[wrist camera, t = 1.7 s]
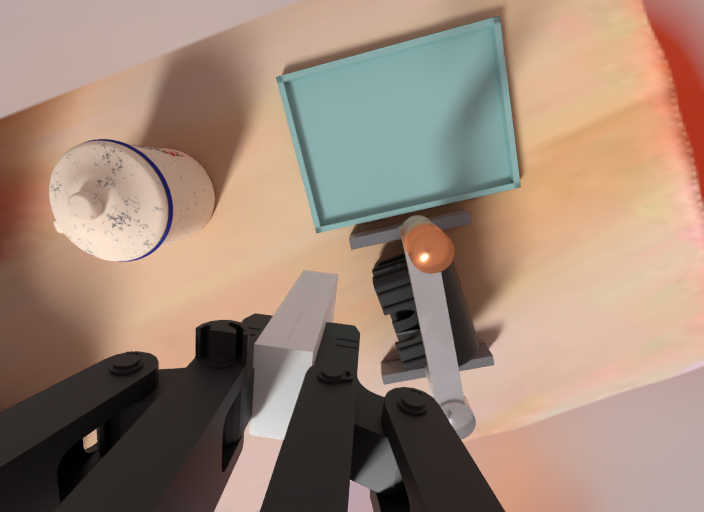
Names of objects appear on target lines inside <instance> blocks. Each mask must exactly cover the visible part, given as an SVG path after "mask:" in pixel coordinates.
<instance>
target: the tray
mask: <svg viewBox="0 0 704 512" xmlns="http://www.w3.org/2000/svg"><path fill="white" fill-rule="evenodd" d="M276 79H277V83H278V87H279V90H280V94H281V98H282V102H283V106H284V110H285V113H286V117H287V121H288V125H289V129H290V133H291V137H292V140H293V144H294V148H295V152H296V156H297V160H298V163H299V167H300V171H301V175H302V179H303V183H304V187H305V190H306V194H307V198H308V202H309V206H310V210H311V213H312V217H313V221H314V225H315V229H316V233H320V232H324V231H329V230H333V229H338V228H342V227H347V226H351V225H355V224H360V223H364V222H369V221H373V220H378V219H382V218H387V217H391V216H395V215H400V214H404V213H409V212H413V211H418V210H422V209H427V208H431V207H435V206H440V205H444V204H449V203H453V202H458V201H462V200H467V199H471V198H475V197H480V196H484V195H489V194H493V193H498V192H502V191H507V190H511V189H515V188H520V187H521V186H520V178H519V170H518V162H517V153H516V145H515V137H514V129H513V121H512V113H511V105H510V96H509V88H508V80H507V72H506V64H505V56H504V48H503V40H502V31H501V23H500V16H497V17H493V18H489V19H486V20H482V21H479V22H475V23H471V24H468V25H464V26H460V27H457V28H453V29H449V30H446V31H442V32H438V33H435V34H431V35H427V36H424V37H420V38H417V39H413V40H409V41H406V42H402V43H398V44H395V45H391V46H387V47H384V48H380V49H376V50H373V51H369V52H365V53H362V54H358V55H354V56H351V57H347V58H344V59H340V60H336V61H333V62H329V63H325V64H322V65H318V66H314V67H311V68H307V69H303V70H300V71H296V72H292V73H289V74H285V75H281V76H278V77H276Z"/></svg>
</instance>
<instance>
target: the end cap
mask: <svg viewBox="0 0 704 512" xmlns="http://www.w3.org/2000/svg"><path fill="white" fill-rule="evenodd" d="M372 273H373V276H374V277H373V285H374V288H375V291H376V293H377V296H378V299H379V302H380V304H381V307H382V310H383V312H384V315H388V314H390V315H391V318H392V321H393V322H392V324H393V326H394V329H395V332H396V334H397V337H398V340H399V341H398V342H395V344H396V347H397V350H398V353H399V355H400V358H401V361H402V363H403V366H404V369H405V371H406V372H407V371H410V370H414V369H417V368H420V367H424V366H427V360H426V355H425V350H424V345H423V340H422V335H421V331H420V326H419V321H418V316H417V311H416V306H415V301H414V296H413V292H412V287H411V282H410V277H409V272H408V267H407V262H406V257H405V253H404V254H401V255H398V256H395V257H392V258H389V259H387V260H384V261H381V262H378V263H376V264H375V266H374V269H372ZM441 275H442V280H443V286H444V291H445V297H446V302H447V308H448V313H449V319H450V324H451V330H452V335H453V340H454V346H455V351H456V357H457V362H458V367H460V366H462V365H464V364H466V363H467V362H469V361H470V360H471V359H472V358H474V357H475V355H476V354H477V352H478V349H479V342H478V339H477V336H476V332H475V329H474V326H473V323H472V320H471V316H470V313H469V310H468V307H467V304H466V301H465V297H464V294H463V291H462V288H461V285H460V281H459V278H458V275H457V272H456V269H455V266H454V262H453V260H452V262H451V264H450V265H449V266H448V267H447V268H446V269H445V270H443V271H441Z"/></svg>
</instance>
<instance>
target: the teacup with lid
mask: <svg viewBox="0 0 704 512" xmlns="http://www.w3.org/2000/svg"><path fill="white" fill-rule="evenodd" d="M49 199H50V205H51V208H52V212H53V214H54V217H55V220H54V222H53V224H54V227H55V229H56V230H57V231H58V232H59V233H64V234H65V235H66V236H67V237H68V238H69V239H70V240H71V241H72V242H73V243H74V244H75V245H76V246H78V247H79V248H80V249H82V250H83V251H85V252H87V253H89V254H91V255H93V256H95V257H98V258H101V259H104V260H109V261H118V262H127V261H134V260H138V259H141V258H144V257H146V256H148V255H150V254H151V253H152V252H154V251H155V250H156V249H158V248H161V247H163V246H166V245H169V244H171V243H174V242H177V241H179V240H182V239H184V238H187V237H190V236H192V235H194V234H196V233H197V232H199V231H200V230H201V229H203V228H204V226H205V225H206V224H207V223H208V221H209V220H210V218H211V215H212V213H213V209H214V203H215V196H214V189H213V185H212V182H211V180H210V178H209V176H208V174H207V172H206V171H205V169H204V168H203V167H202V166H201V165H200V164H199V163H198V162H197V161H196V160H195V159H194V158H192V157H191V156H189V155H187V154H186V153H183V152H181V151H178V150H174V149H167V148H156V147H146V146H135V145H128V144H126V143H123V142H119V141H115V140H108V139H98V140H91V141H87V142H84V143H82V144H79V145H77V146H75V147H73V148H72V149H70V150H69V151H68V152H66V153H65V154H64V155H63V156H62V157H61V158H60V160H59V161H58V162H57V164H56V166H55V168H54V170H53V172H52V175H51V179H50V184H49Z"/></svg>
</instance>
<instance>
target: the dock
mask: <svg viewBox="0 0 704 512" xmlns="http://www.w3.org/2000/svg"><path fill="white" fill-rule="evenodd" d="M426 218H428V219H429V220H430V221H432V222H433V223H434V224H435V225H436V226H437V227H438V228H440V229H441V230H444V229H448V228H453V227H458V226H462V225H467V224H471V223H472V220H471V214H470V212H468V211H466V210H464V209H462V210H457V211H453V212H448V213H444V214H439V215H435V216H430V217H426ZM403 223H404V222H403ZM403 223H399V224H394V225H390V226H385V227H381V228H376V229H372V230H367V231H363V232H358V233H354V234H350V237H349V241H350V246H351V250H352V249H357V248H361V247H366V246H370V245H375V244H380V243H384V242H389V241H393V240H398V239H401V236H400V228H399V226H402V224H403ZM491 365H494V360H493V355H492V354H491V352H490V351H489V349H488V348H487V346H486V345H485V344H480V345H479V349H478V352H477V354H476V355H475V357H474V358H472V359H471V360H470V361H469V362H467V363H466V364H464V365H462V366H460V367H458V368H459V371H463V370H469V369H474V368H480V367H486V366H491ZM381 371H382V379H383V383H384V384H390V383H395V382H401V381H407V380H412V379H418V378H424V377H427V381H428V384H429V388H430V392H431V396H432V397H433V398H434V394H433V389H432V384H431V379H430V374H429V370H428V365H427V366H424V367H420V368H417V369H414V370H410V371H407V372H406V371H405V369H404V366H403V363H402V361H401V359H398V360H393V361H387V362H382V363H381Z"/></svg>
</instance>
